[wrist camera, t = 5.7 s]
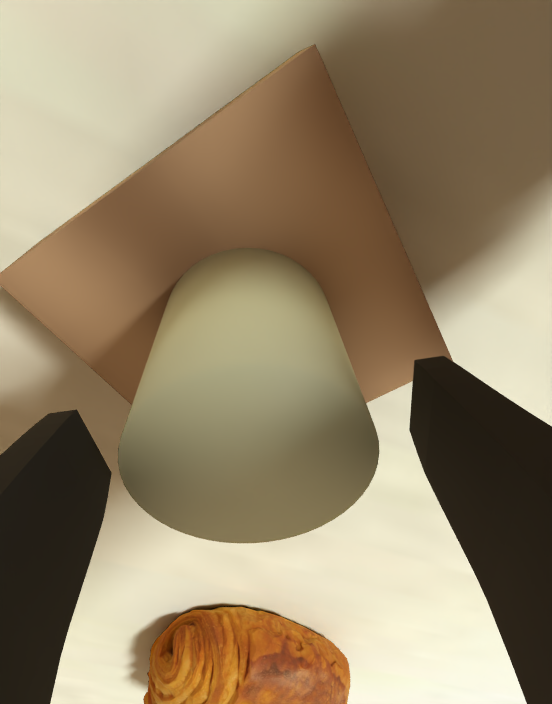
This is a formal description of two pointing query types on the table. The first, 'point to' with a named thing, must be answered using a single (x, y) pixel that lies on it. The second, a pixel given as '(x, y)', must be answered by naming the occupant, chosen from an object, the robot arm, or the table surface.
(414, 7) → the table surface
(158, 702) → the croissant
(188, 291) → the sage cylinder
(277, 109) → the walnut base
